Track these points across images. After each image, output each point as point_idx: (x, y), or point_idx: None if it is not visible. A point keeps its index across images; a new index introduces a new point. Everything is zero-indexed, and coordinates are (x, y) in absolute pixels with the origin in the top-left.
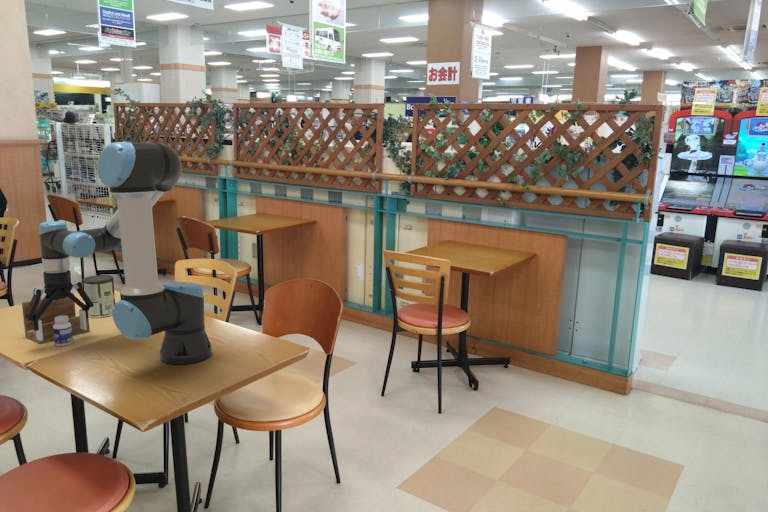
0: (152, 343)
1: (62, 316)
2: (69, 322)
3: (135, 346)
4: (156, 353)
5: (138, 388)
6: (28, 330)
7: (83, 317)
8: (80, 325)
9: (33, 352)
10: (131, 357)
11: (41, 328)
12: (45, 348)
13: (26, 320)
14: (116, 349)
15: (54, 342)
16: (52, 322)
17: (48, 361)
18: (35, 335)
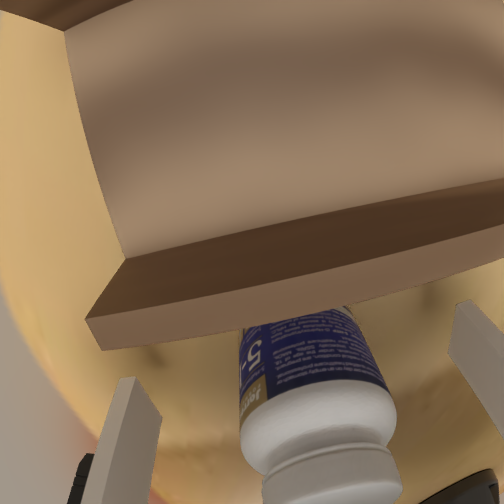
0: (485, 440)
1: (358, 501)
2: (387, 442)
3: (451, 452)
4: (434, 488)
5: None
6: (76, 24)
7: (495, 422)
8: (469, 321)
9: (120, 376)
10: None
11: (145, 492)
12: (179, 357)
13: (4, 3)
14: (406, 462)
15: (239, 343)
16: (279, 299)
17: (184, 474)
18: (110, 208)
